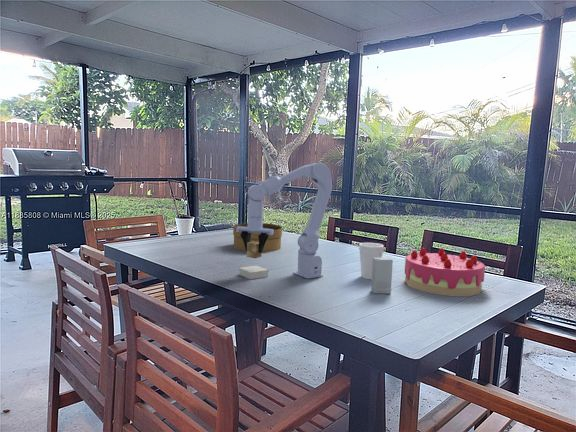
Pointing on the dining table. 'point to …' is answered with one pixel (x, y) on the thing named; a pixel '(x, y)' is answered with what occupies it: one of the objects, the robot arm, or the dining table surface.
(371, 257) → the foam cup
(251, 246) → the oak block
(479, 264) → the cake
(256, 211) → the robot arm
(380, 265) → the skincare box
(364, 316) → the dining table surface
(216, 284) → the dining table surface
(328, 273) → the dining table surface
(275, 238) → the steamer basket
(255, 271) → the tile block
